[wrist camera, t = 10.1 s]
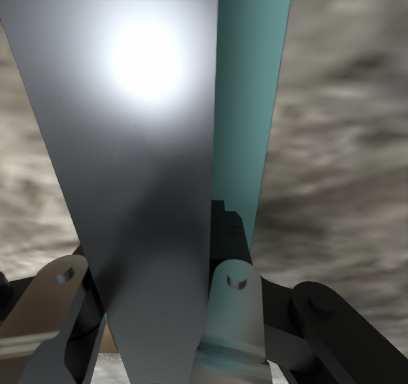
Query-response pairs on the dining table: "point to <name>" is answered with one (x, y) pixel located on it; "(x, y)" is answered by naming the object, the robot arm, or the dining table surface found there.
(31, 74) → the rail
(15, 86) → the dining table surface
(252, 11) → the mat
